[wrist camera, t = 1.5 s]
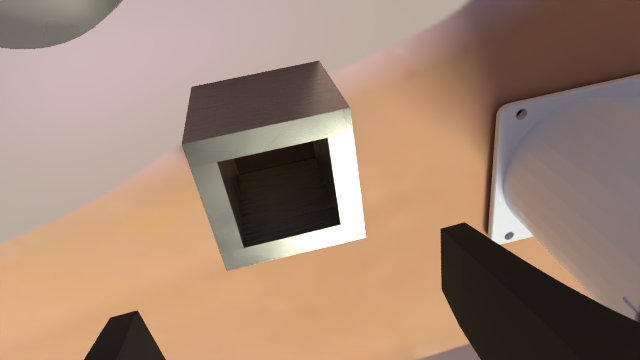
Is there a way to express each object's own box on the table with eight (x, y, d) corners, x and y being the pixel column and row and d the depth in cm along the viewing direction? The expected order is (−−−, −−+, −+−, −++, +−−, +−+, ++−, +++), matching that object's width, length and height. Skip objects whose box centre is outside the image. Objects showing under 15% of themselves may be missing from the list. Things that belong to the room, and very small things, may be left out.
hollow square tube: (318, 60, 17) (350, 108, 13) (335, 169, 20) (365, 237, 16) (191, 87, 17) (181, 144, 13) (225, 194, 20) (226, 270, 15)
